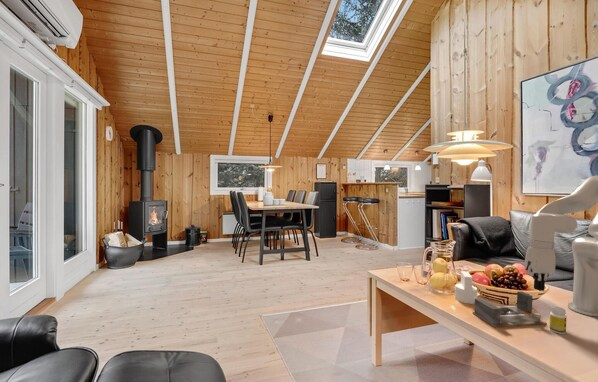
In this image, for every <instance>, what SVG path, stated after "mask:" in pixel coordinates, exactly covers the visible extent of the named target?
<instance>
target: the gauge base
mask: <svg viewBox="0 0 598 382" xmlns="http://www.w3.org/2000/svg"><path fill="white" fill-rule="evenodd" d="M508 307H517V305H502V306H501V305H500V306H499V305H498V306H496V305H494V304H492V303H491V302H488V301H487V300H485V299H483V298H477V299H475V303H474V310H473V311H472V314H473V315H474V316H476V317H478V319H481V320H483V321H484V322H486V323H487V324H489V325H490V326H492V327H493V328H502V327H503V328H510V327H524V326H525V327H527V326H543V325H547V322H546V321H544V320H542V319H541V318H542V315H541V314H540V313H538V312H537V313H534V312H532V313H533V314H531V315H532V316H531V317H530V316H528V315H526V314H514V315H507V314H506V312H507V308H508Z"/></svg>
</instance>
